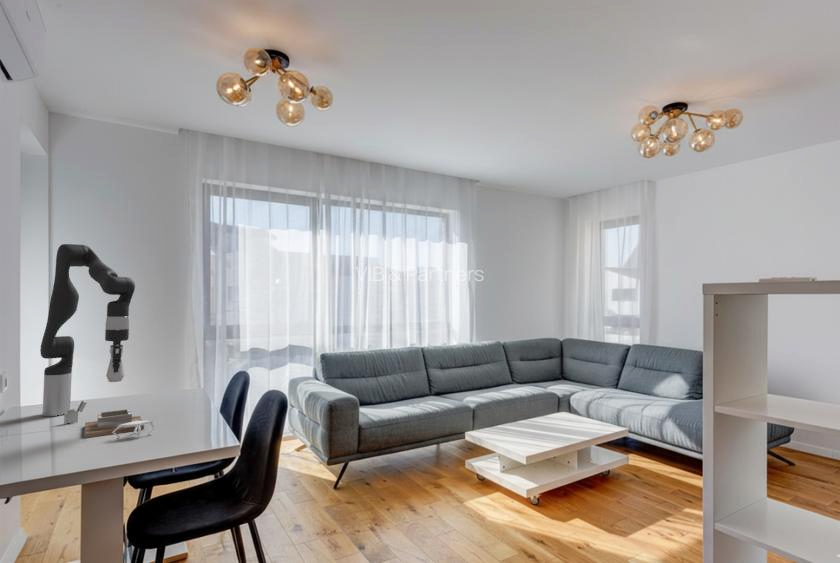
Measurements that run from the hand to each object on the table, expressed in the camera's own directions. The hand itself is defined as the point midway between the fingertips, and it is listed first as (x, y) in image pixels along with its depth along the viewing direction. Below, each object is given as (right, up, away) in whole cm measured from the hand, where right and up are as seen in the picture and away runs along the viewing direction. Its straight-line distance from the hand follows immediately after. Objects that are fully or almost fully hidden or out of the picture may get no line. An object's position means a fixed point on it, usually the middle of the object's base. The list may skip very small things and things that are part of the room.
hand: (115, 372), depth 171 cm
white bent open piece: (+14, -21, -11) cm, 27 cm away
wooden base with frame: (0, -21, -1) cm, 21 cm away
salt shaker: (0, -3, 0) cm, 3 cm away
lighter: (-21, -22, +7) cm, 31 cm away
